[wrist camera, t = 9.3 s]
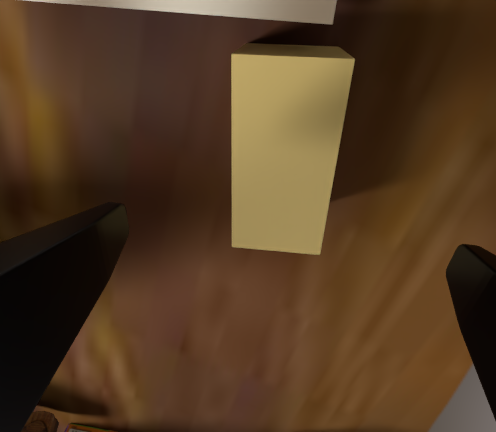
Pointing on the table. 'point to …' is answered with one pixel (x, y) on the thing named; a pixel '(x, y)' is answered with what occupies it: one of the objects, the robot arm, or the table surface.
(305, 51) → the block
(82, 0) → the trolley
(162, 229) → the table surface
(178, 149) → the table surface
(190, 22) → the table surface
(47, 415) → the wooden carving
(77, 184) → the table surface
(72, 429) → the game box
